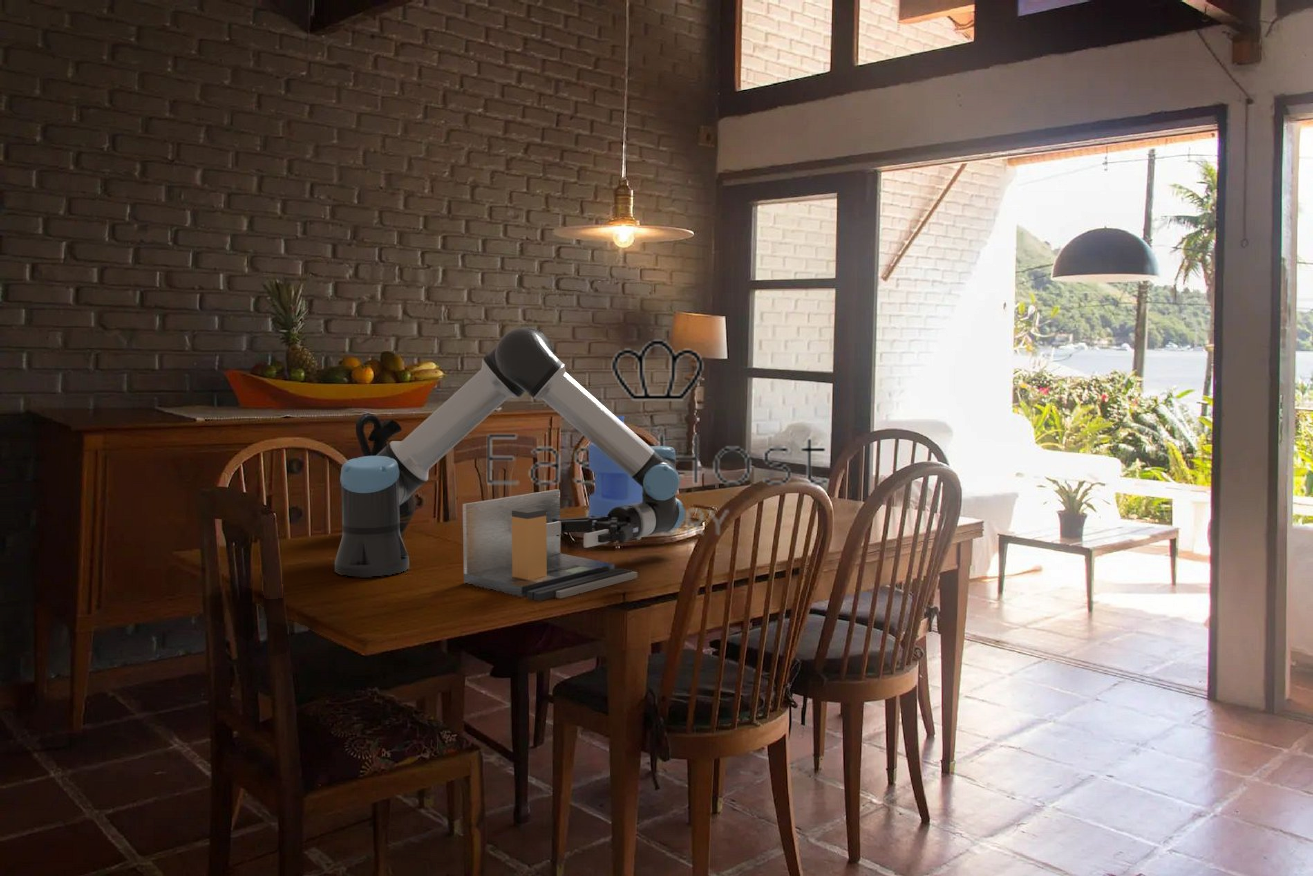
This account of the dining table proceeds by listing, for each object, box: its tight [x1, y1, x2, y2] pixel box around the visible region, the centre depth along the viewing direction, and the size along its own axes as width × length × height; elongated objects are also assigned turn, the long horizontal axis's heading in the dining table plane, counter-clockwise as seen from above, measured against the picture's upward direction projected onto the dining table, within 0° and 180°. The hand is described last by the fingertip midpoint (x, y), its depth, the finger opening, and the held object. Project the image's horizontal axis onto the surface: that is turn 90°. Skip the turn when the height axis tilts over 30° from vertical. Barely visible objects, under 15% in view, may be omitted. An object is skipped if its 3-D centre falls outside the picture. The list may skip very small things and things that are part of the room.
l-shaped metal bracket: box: [462, 488, 616, 598], centre depth 216 cm, size 26×17×16 cm, turn 140°
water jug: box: [588, 415, 642, 517], centre depth 277 cm, size 16×16×28 cm
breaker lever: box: [512, 507, 547, 580], centre depth 208 cm, size 5×4×13 cm
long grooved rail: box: [526, 567, 638, 602], centre depth 208 cm, size 26×5×1 cm, turn 140°
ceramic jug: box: [355, 413, 416, 537], centre depth 259 cm, size 17×15×30 cm
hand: (560, 536), depth 214 cm, fingers open, 13 cm apart
